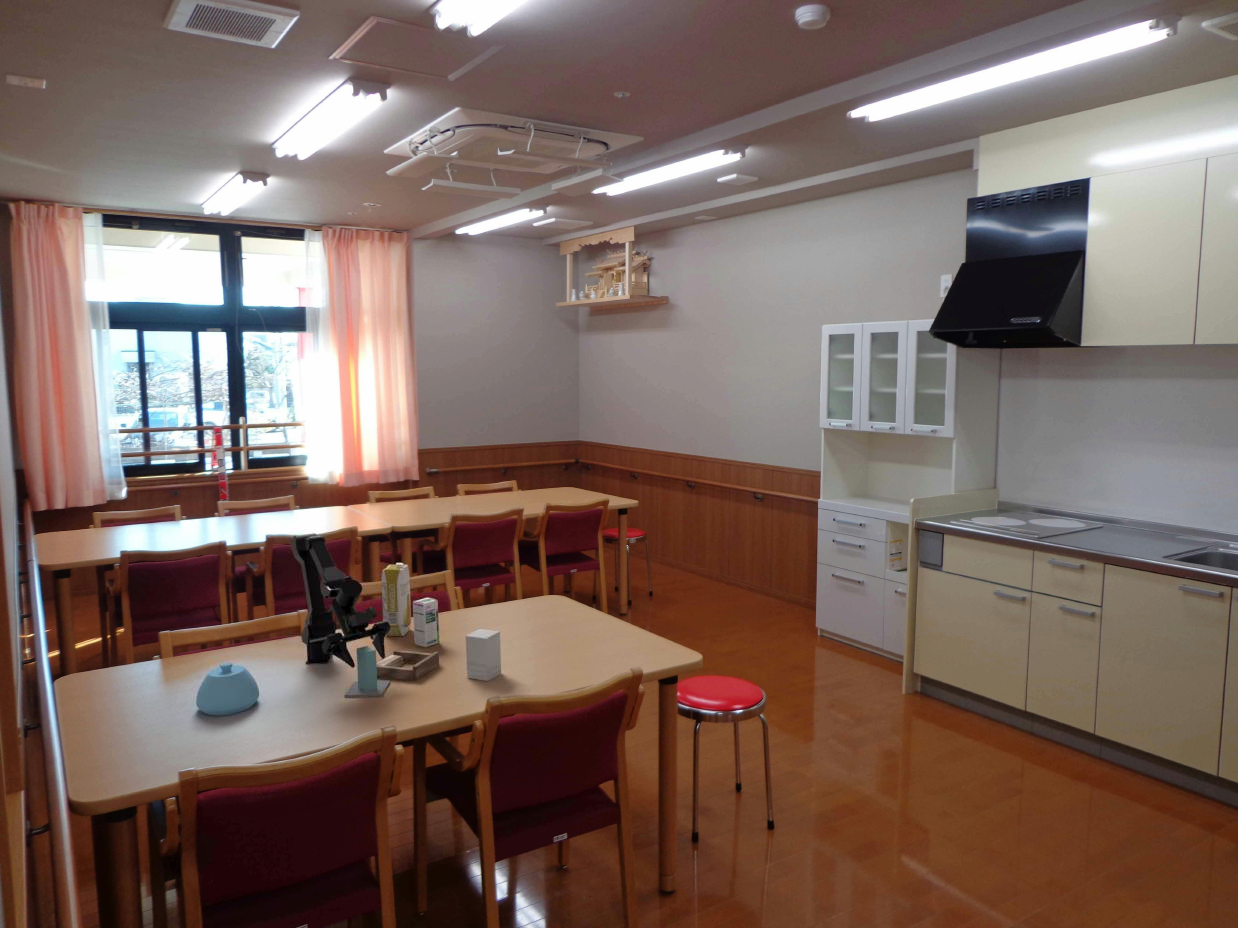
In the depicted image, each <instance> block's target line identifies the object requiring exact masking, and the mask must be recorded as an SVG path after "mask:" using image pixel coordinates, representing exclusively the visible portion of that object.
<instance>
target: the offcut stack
mask: <svg viewBox="0 0 1238 928" xmlns="http://www.w3.org/2000/svg"><path fill="white" fill-rule="evenodd" d="M380 660H381V659H380ZM378 661H379V660H378ZM376 662H377V661H376ZM403 663H404V664H405V662H404V661H403V658H402V656H397V655H391V656H389V657H387V658H385V659H383V660H381V661H379V662H377V663H376V665H382V666H391V667H401V666H402V665H404V664H403ZM400 665H401V666H400Z"/></svg>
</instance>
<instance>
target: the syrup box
mask: <svg viewBox="0 0 1238 928" xmlns="http://www.w3.org/2000/svg"><path fill="white" fill-rule="evenodd" d="M438 604H439V601H438V599H435V598H432V597H425V598H422V599H418V600H413V601H412V611H413V612H412V613H413V634H414V645H417V646H420V647H423V648H428V647H431V646H433V645H436V644H440V624H439V605H438Z"/></svg>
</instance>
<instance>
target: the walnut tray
mask: <svg viewBox="0 0 1238 928" xmlns="http://www.w3.org/2000/svg"><path fill="white" fill-rule="evenodd" d="M391 655H397V656H402V658H403V661H404V663H409V662H413V663H412V664H414V665H412V668H409V667H401V666H399V667H391V666H382V665H376V666H377V676H378V677H377V678H385V677H387V678H388V679H394V678H395V679H396V680H405V681H418V680H419V679H421V678H422V677H424V676H425V675H427V674H428V673H429V671H430V672H431V671H433V670H434V669H435V668H437V667H438V666H439V665H440V651H434V652H432V653H430V652H429V653H428V652H420V651H419V652H418V651H411V650H410V651H408V650H399V649H398V650H397V649H394V650H393V652H392V653H389V654H388V655H385V658H387V657H389V656H391ZM385 658H384V659H385ZM381 660H383V659H382V658H381V659H379V660H378V661H377V660H376V663H377V662H379V661H381ZM423 675H424V676H423ZM387 678H386V679H387Z"/></svg>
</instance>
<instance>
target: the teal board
mask: <svg viewBox="0 0 1238 928" xmlns="http://www.w3.org/2000/svg"><path fill="white" fill-rule="evenodd" d="M376 662H377V650H376V648H372V647H370V646H368V645H365V646H361V647H358V648H356V669H357V670H356V671H357V681H358V687H359V688H361V689H363V690H365V691H367V692H368V691H371V690H374V689H377V681H378V677H377V666H376Z"/></svg>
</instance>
